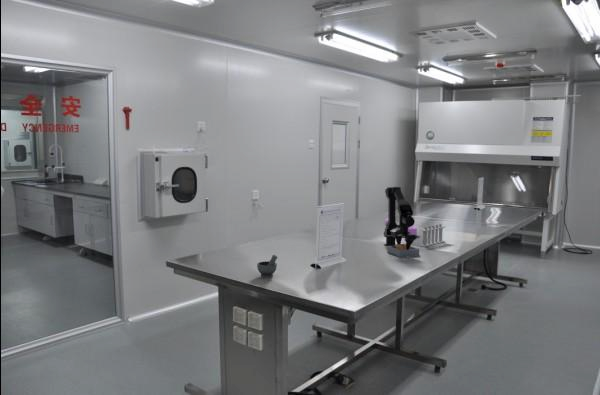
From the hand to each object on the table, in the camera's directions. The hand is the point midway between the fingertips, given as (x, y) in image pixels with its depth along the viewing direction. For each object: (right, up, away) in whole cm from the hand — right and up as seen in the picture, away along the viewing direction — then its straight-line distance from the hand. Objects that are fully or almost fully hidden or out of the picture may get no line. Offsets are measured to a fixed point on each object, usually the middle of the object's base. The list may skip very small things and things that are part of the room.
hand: (403, 248), depth 288 cm
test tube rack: (+27, -1, +31) cm, 41 cm away
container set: (+12, +3, +64) cm, 65 cm away
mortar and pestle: (-81, -9, -53) cm, 97 cm away
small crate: (0, -3, 0) cm, 3 cm away
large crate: (0, -4, 0) cm, 4 cm away
